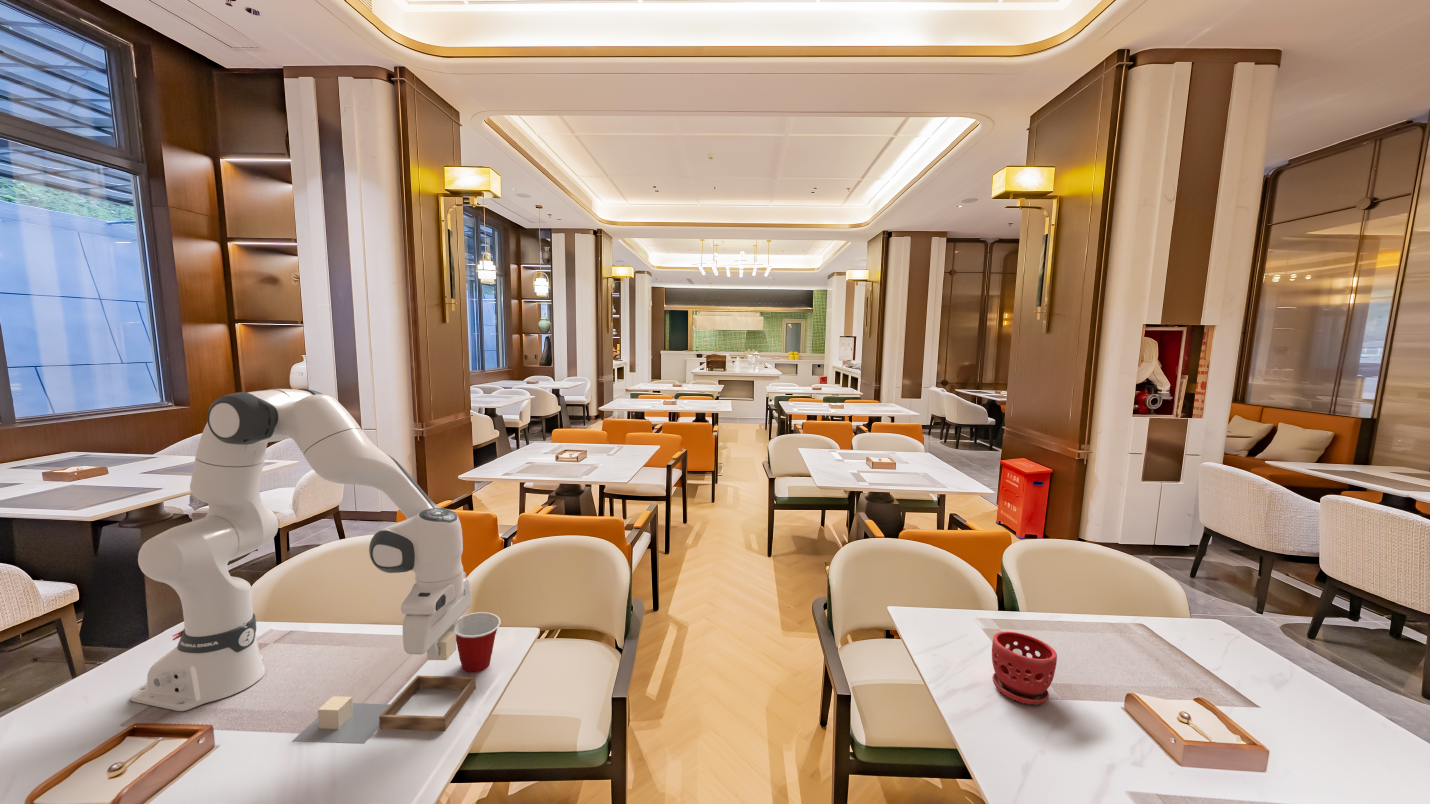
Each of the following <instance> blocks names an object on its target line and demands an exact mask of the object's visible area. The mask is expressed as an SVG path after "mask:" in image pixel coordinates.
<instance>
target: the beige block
mask: <svg viewBox="0 0 1430 804" xmlns="http://www.w3.org/2000/svg"><path fill="white" fill-rule="evenodd" d="M437 646H438V647H441V651H440V652H441V654H440V655H439V656H438V658H437V659H429V657H428V651H426V653H427V654H426V655H427V656H426V657H427V658H426V659H427V661H447V660H448V659H450V657H451V656H452V655H453V654H454V653H455V651H456V650H457V642H456V632H451V631H446V632H445V633H444V634H443V635H442V636H441V637H440V638H439V639H438V643H437Z"/></svg>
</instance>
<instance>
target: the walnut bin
mask: <svg viewBox="0 0 1430 804" xmlns="http://www.w3.org/2000/svg"><path fill="white" fill-rule="evenodd" d="M476 679H477V678H476V677H475V676H474V677H472V676H449V675H447V676H445V675H444V676H441V675H416V677H415V678H413V679H412V681H411V682H409V684H408V685H407V686H406V687H405V688H404V689H403V691H401V692H400V694H398V696H396V698H395V699H394V700H393V701H392V702H390V703H389V704H390V705H389V707H388V708H387V709H386V710H385V711H384V712H383V713H382V714H381V715H380V716H379V728H378V729H379V730H397V731H398V730H399V731H405V730H407V731H431V732H432V731H434V732H435V731H436V732H446V730H447V729H448V728H449V726H450V725H451V724H452V722H453V721H454V719H455V718H456V717H457V715H458V714H459V713H460V711H461V710H462V708H464V705H465V704H466V703H467V702H468V701H469V699H470V697H471V695H472V694H473V693H474V691H475V690H476V687H477V686H476V685H477V684H476V682H477V680H476ZM419 689H424V690H425V689H426V690H427V689H428V690H429V689H432V690H458V691H459V690H460V691H461V692H460V694H459V695H458V696H457V697H456V699H455V700H454V702H453V703H452V705H451V706H450V707H449V709H447V711H446V712H445V713H444V715H443V716H441V715H413V714H412V715H410V714H408V715H405V714H397V713H398V712H399V711H400V710H401V709H402V708H403V707H404V705H405V704H406V703H407V702H408V701H409V700H410V699H411V697H413V696H414V694H416V692H417V691H418V690H419Z"/></svg>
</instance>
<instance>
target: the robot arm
mask: <svg viewBox="0 0 1430 804" xmlns="http://www.w3.org/2000/svg"><path fill="white" fill-rule="evenodd" d="M206 417H207V420H206V421H207V422H206V424H205V426H204V428H203V431H202V434H201V435H200V436H201V437H200V438H199V442H198V445H197V449H196V452H195V458H194V464H193V469H192V474H191V479H190V483H189V491H190V492H191V494H192V495H193V496H194V497H195V498H196V499H198V500H199V501H201V502H203V503H206V504H208V512H207V514H206V515H205V516H204V517H203V518H200V519H196V520H192V521H190V522H186V523H183V524H180V525H177V526H173V527H171V528H169V529H167V530H165V531H163V532H160V533H158V534H157V535H155V536H153V537H151V538H149V539H148V540H146V541H145V542H144V543H143V544H141V547H140V549H139V551H138V555H137V557H138V558H137V562H138V566H139V568H140V570H141V572H142V573H143V574H144V575H145V576H146V577H148V578H150V579H151V580H153V581H155V582H159V583H164V584H167V586H170V588H172V589H173V590H174V591H175V593H177V595H178V597H179V599H180V603H181V607H182V615H183V622H184V628H183V630H180V631H179V632H177V633H175V634H173V635H171V636H172V637H174V638H173V639H172V641H176V640H177V639H179V638H180V639H179V641H178V643H177V646H176V647H174V648H173V649H171V650H170V651H169V652H168V653H166V654H165V655H164V656H162V657H161V658H159V659H158V660H157V661H156V662H154V663H153V664H152V665H151V666H150V667H149V670H148V673H147V676H146V682H145V683H144V684H142V685H140V686H139V688H137V689H136V690H135V691H134V692H133V693H132V694H131V695H130V696H131V697H130V701H131V702H134V703H139V704H143V705H148V706H153V707H158V708H163V709H166V710H167V709H168V710H171V711H176V712H184V711H188V710H191V709H194V708H196V707H198V706H201V705H204V704H207V703H210V702H211V703H212V702H214V701H218V700H222V699H224V698H228V697H230V696H233V695H235V694H237V693H239V692H240V693H241V692H242V691H244V690H246V689H248V688H249V687H251V686H252V685H255V683H257V682H258V681H259V680H261V679H262V677H263V676H264V675H265V673H266V667H265V665H264V657H263V655H262V654H261V652H260V648H259V642H258V638H257V634H256V632H257V618H256V614H255V613H253V612H254V611H253V609H254V608H253V596H252V592H253V591H252V586H251V584H250V582H248V581H247V580H245V579H244V578H241V577H238V576H231V574H230V571H229V569H228V566H229V565H228V564H229V562H231V561H233V560H236V559H238V558H241V557H242V556H245V555H247V554H250V553H252V552H253V553H254V552H255V551H257V550H258V549H260V548H261V547H263V546H265V545H266V544H267V543H269V542H270V541H272V540H273V539H274V538H275V536H277V533H278V530H279V520H278V517H277V516H276V514H275V513H274V512H273V511H272V510H271V508H268V507H267V506H264V504H263V502H262V500H261V495H260V492H261V491H260V487H261V480H262V474H263V468H264V464H265V460H266V459H265V458H266V454H267V448H268V447H267V446H268V443H272V442H274V443H275V442H279V441H283V440H288V439H292V440H293V441H294V442H295V443H296V445H297V447H298V449H299V450H300V452H301V453H302V455H303V456H304V458H305V460H306V461H307V463H308V465H310V467H311V469H312V470H313V471H314V472H315V473H316V474H317V475H318V476H319V477H321V478H322V479H323V480H325V481H328V482H331V483H334V484H335V483H336V484H342V485H358V486H365V487H371V488H375V489H377V490H378V491H379V490H380V491H381V492H383V493H384V494H385V495H386V496H387V497H388V498H389V500H391V502H392V503H393V504H394V505H395V506H396V507H397V508H398V509H399V510H400V512H401V513H402V514H403V515H404V516H405V517H406V519H403V520H402V521H399V522H395V523H393V524H391V525H388V526H386V527H385V528H383V529H381V530H379V531H377V532H375V534H373V536H372V538H371V540H370V542H369V547H368V552H369V558H370V561H371V562H372V564H373V565H374V566H375V568H377V569H378V570H380V571H382V572H384V573H387V574H397V573H398V574H400V573H406V572H407V573H408V572H410V571H411V572H414V574H415V575H414V576H415V583H414V584H413V585H412V587H411V590H410V591H409V593H408V595H407V596H406V598H405V599H404V601H403V602H402V603H401V606H400V612H401V614H402V615H405V616H404V617H403V620H402V643H403V650H404V652H405V653H406V654H408V655H425V654H426V653H427V651H428V657H429V659H437V658H438V656H439V655H440V654H441V652H440V651H441V647H438V646H437V643H438V639H439V638H440V637H441V636H442V635H443V634H444V633H445V632H446V631H451V632H455V628H456V625H457V619H458V618H460V617H462V616H463V615H464V613H466V612H467V610H468V609H469V608H470V607H471V605H472V591H471V590H472V589H471V583H470V580H469V578H467V572H465V570H464V566H463V564H462V555H463V551H464V548H463V547H464V546H463V545H464V542H463V541H464V540H463V539H464V538H463V529H462V528H463V527H462V524H461V520H460V518H459V515H458V514H457V513H456V512H455V511H453V510H451V509H449V508H445V507H444V508H443V507H440V506H439V505H437V504H436V503H435V502H434V501H433V500H432V499H431V498H430V497H429V496H428V494H427V493H426V492H425V491H424V490H423V489H422V488H421V486H420V485H419V484H418V483H417V482H416V481H415V479H414V478H413V477H412V475H411V474H409V472H408V471H407V470H406V469H405V468H404V467H403V466H402V465H401V464H400V463H399V462H398V461H397V460H396V459H395V458H394V457H392V456H391V455H390V454H389V455H388V454H387V453H385V452H384V451H382V450H381V449H380V448H379V447H377V446H376V445H375V443H373V442H372V441H371V439H370V438H368V436H367V435H366V433H365V432H364V431H363V430H362V428H361V427H360V425H359V424H358V422H357V421H356V420H355V418H354V417H353V415H352V414H351V413H350V412H349V411H348V409H346V408H345V407H344V406H343V405H342V403H340V402H339V401H338V400H337V399H336V398H335V397H332V396H331V395H328V394H323V393H322V392H321V391H316V390H315V389H314V390H313V389H308V388H297V389H293V388H270V389H266V390H256V391H249V392H245V391H244V392H243V391H240V392H239V391H238V392H233V393H230V394H226V395H223V396H220V397H218V398H216V399H214V401H213V402H212V403H211V404H210V407H209V408H208V412H207V416H206Z"/></svg>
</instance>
